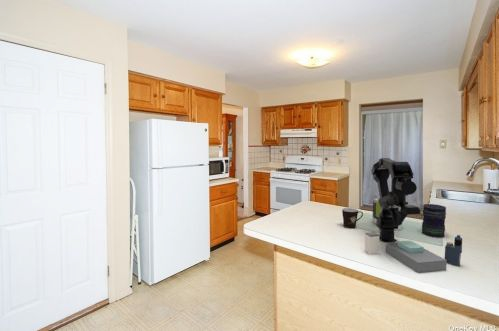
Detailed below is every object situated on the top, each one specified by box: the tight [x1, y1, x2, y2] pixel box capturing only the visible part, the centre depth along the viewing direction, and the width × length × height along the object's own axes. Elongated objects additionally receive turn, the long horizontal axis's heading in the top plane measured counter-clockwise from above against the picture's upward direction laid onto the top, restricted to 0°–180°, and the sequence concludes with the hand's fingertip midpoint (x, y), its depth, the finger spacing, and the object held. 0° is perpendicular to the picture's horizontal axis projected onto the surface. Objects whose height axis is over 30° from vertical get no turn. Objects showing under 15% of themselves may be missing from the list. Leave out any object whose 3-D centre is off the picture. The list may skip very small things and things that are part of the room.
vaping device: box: [444, 234, 463, 267], centre depth 100 cm, size 3×5×12 cm, turn 36°
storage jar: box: [421, 203, 447, 239], centre depth 131 cm, size 10×10×15 cm
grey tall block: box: [364, 231, 380, 255], centre depth 112 cm, size 4×4×9 cm
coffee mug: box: [341, 207, 364, 230], centre depth 145 cm, size 12×9×10 cm
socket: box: [385, 242, 448, 274], centre depth 104 cm, size 18×12×4 cm, turn 8°
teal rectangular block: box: [397, 240, 425, 253], centre depth 105 cm, size 7×6×2 cm
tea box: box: [371, 198, 403, 231], centre depth 145 cm, size 15×10×15 cm, turn 179°
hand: (397, 224), depth 113 cm, fingers closed
